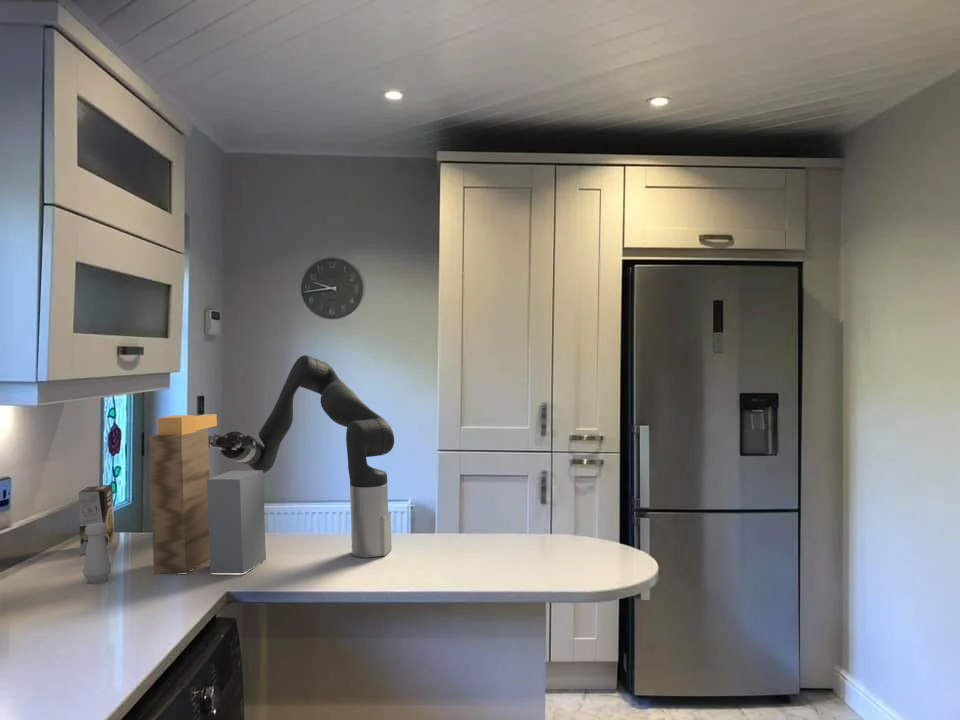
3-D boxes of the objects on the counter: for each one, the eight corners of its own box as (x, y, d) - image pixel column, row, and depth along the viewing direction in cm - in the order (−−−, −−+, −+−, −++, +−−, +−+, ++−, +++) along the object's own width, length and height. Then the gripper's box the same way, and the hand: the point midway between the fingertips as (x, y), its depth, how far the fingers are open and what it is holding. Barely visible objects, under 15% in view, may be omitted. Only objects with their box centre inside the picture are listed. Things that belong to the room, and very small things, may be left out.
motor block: (265, 560, 181) (263, 470, 181) (242, 575, 169) (239, 479, 169) (235, 559, 182) (232, 470, 182) (210, 574, 170) (207, 479, 170)
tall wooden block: (212, 559, 183) (208, 429, 182) (185, 574, 171) (181, 435, 171) (182, 558, 184) (177, 430, 184) (153, 573, 172) (149, 436, 172)
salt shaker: (84, 579, 169) (82, 522, 169) (112, 575, 172) (110, 519, 172) (82, 586, 164) (80, 527, 164) (111, 582, 167) (109, 524, 166)
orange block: (222, 425, 192) (221, 410, 191) (182, 434, 173) (181, 417, 173) (200, 425, 192) (200, 410, 192) (158, 435, 174) (157, 417, 174)
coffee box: (106, 552, 192) (104, 490, 191) (79, 554, 190) (77, 492, 190) (115, 543, 201) (113, 484, 200) (89, 545, 199) (87, 485, 199)
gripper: (215, 433, 210) (191, 422, 194) (265, 434, 209) (245, 422, 194) (211, 460, 208) (187, 450, 192) (262, 461, 207) (242, 451, 191)
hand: (216, 436), depth 193 cm, fingers open, 8 cm apart
